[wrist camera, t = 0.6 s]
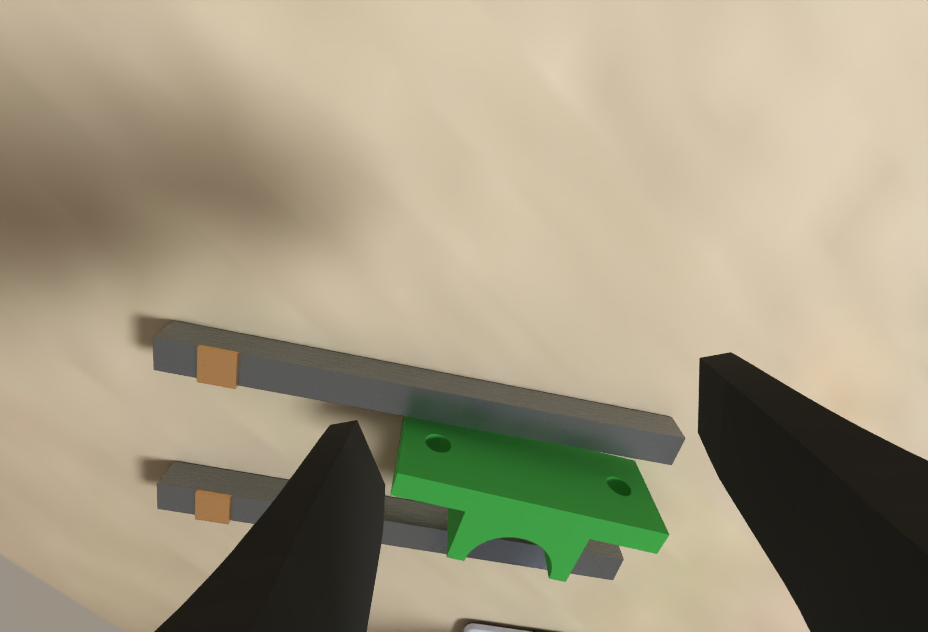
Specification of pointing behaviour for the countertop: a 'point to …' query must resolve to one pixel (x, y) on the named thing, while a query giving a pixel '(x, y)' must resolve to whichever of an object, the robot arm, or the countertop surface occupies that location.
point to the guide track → (402, 394)
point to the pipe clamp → (525, 492)
